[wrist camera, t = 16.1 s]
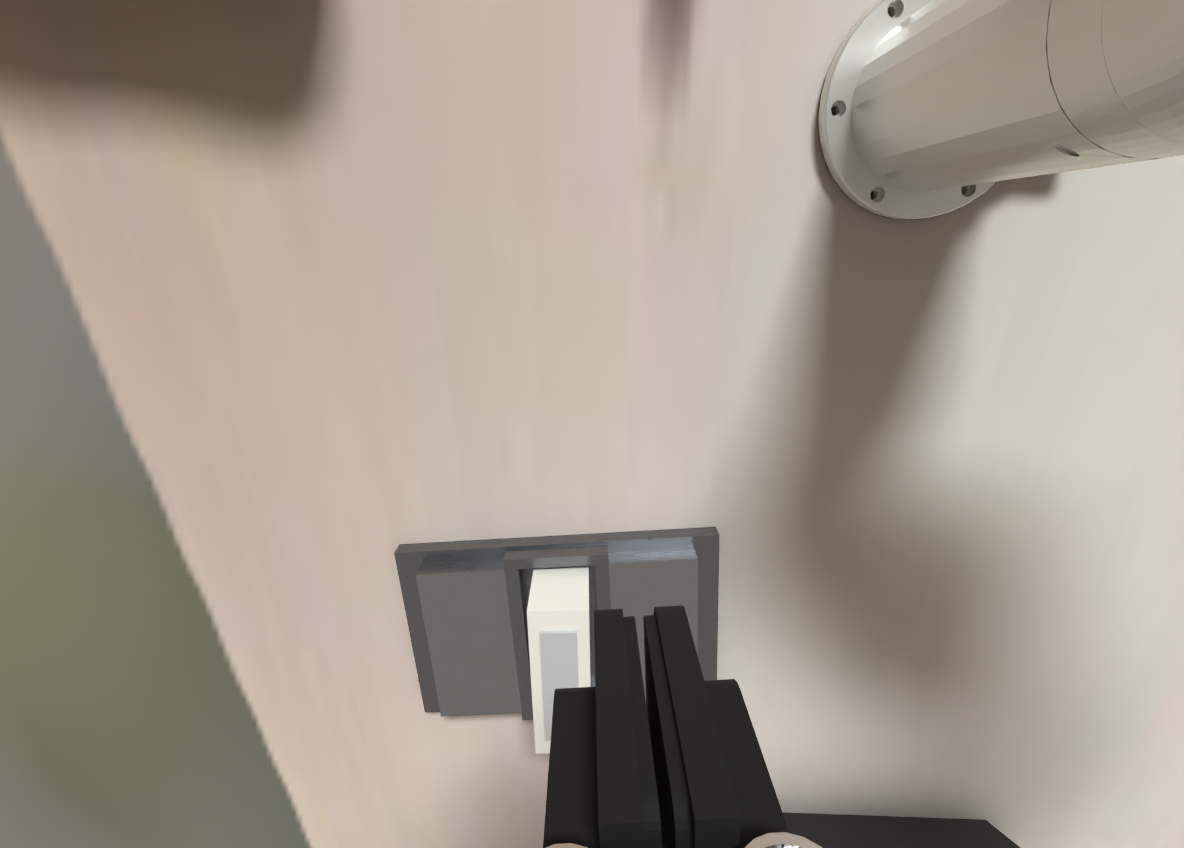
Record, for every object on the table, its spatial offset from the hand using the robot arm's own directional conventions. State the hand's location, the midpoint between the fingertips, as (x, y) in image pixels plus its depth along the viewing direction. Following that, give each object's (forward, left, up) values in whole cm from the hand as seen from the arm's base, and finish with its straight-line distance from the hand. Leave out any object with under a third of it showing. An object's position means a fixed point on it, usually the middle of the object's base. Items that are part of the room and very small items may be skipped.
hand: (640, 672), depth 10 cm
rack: (+4, +21, -29) cm, 36 cm away
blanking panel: (+4, +21, -28) cm, 35 cm away
